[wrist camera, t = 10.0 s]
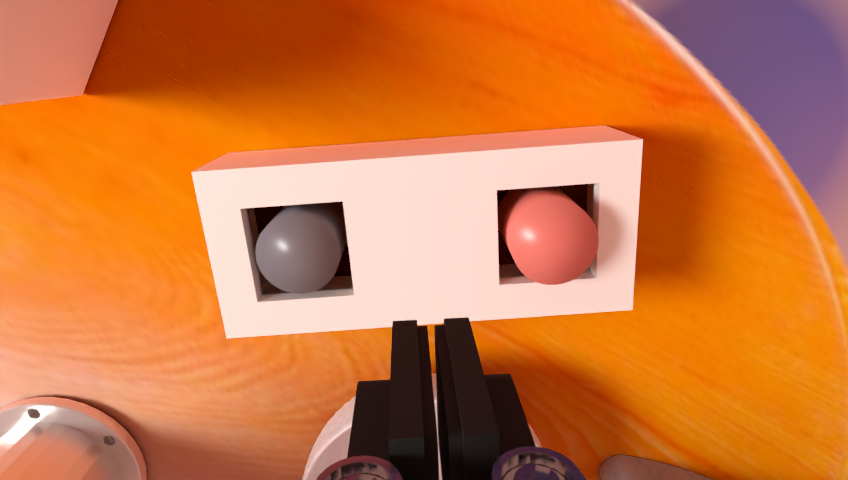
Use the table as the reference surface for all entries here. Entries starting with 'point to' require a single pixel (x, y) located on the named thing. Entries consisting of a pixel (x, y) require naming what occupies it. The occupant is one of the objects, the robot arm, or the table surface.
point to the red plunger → (547, 234)
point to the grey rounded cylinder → (302, 246)
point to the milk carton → (49, 46)
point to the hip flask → (643, 470)
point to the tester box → (420, 228)
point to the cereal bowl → (337, 436)
